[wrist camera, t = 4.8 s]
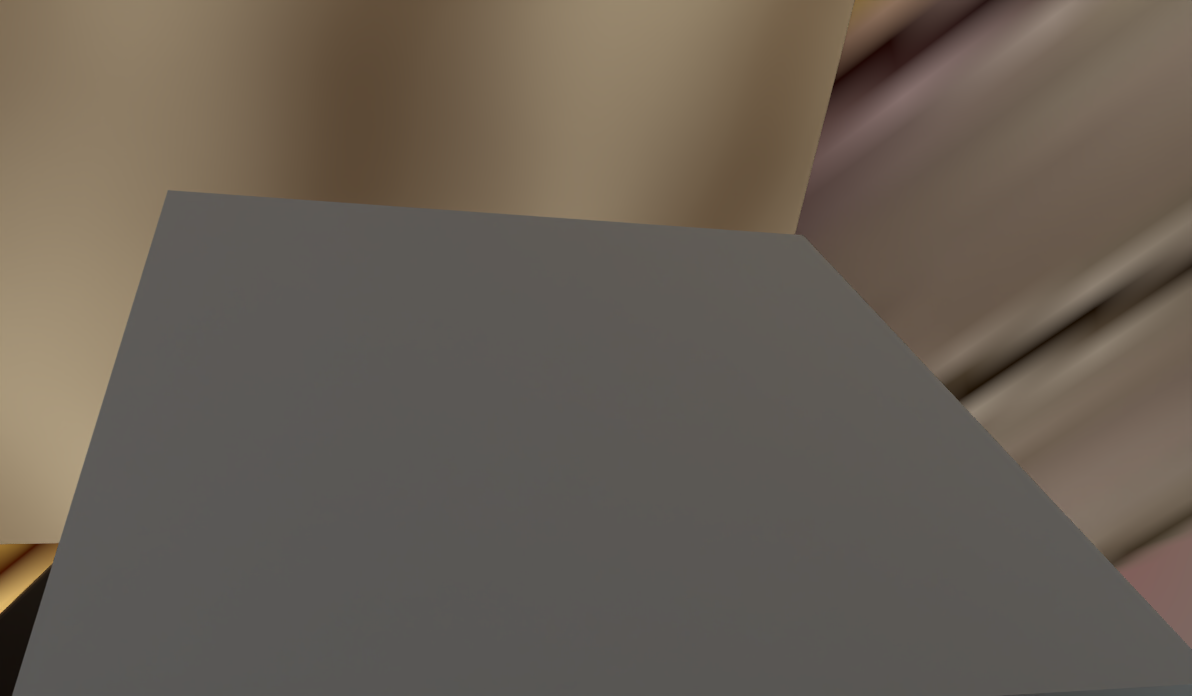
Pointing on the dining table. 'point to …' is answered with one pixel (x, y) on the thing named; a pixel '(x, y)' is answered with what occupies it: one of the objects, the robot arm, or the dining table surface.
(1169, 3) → the dining table surface
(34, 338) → the birch base
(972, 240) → the dining table surface
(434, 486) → the gray block
